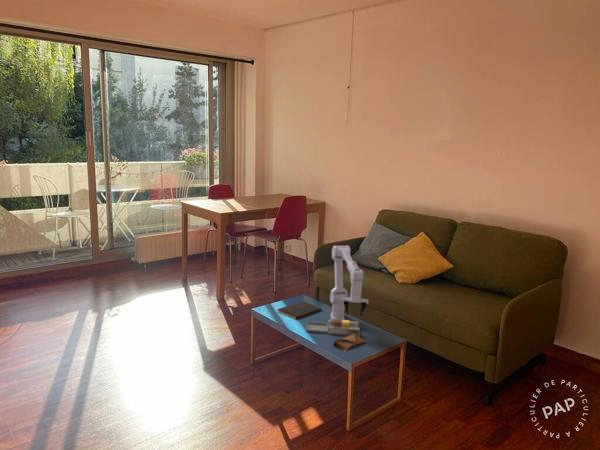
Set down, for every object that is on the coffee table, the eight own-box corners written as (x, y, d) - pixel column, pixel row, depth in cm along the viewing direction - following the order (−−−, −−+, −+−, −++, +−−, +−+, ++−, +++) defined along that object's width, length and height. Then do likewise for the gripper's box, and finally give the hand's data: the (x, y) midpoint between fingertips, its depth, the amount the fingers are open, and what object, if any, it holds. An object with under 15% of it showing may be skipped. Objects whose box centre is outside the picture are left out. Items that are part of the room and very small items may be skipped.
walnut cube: (332, 325, 267) (333, 319, 266) (339, 326, 267) (340, 319, 266) (333, 328, 263) (333, 321, 262) (340, 329, 263) (340, 322, 262)
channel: (328, 325, 271) (328, 319, 270) (357, 327, 271) (358, 321, 270) (328, 333, 259) (329, 327, 259) (359, 336, 259) (359, 329, 258)
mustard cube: (341, 326, 267) (342, 319, 266) (348, 326, 267) (349, 320, 266) (341, 329, 263) (342, 322, 262) (349, 329, 263) (349, 322, 262)
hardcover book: (277, 312, 287) (277, 309, 287) (302, 304, 304) (302, 301, 304) (296, 320, 277) (296, 316, 276) (321, 311, 293) (321, 308, 293)
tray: (306, 324, 271) (306, 321, 271) (327, 325, 271) (327, 323, 270) (306, 331, 260) (306, 329, 260) (327, 333, 260) (328, 331, 260)
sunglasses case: (346, 351, 239) (341, 338, 240) (336, 354, 243) (332, 341, 245) (367, 342, 251) (363, 330, 253) (357, 344, 256) (353, 332, 257)
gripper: (343, 293, 255) (341, 316, 258) (369, 294, 255) (367, 318, 257) (342, 288, 262) (340, 311, 265) (368, 290, 262) (366, 313, 264)
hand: (353, 314), depth 262 cm, fingers open, 7 cm apart
